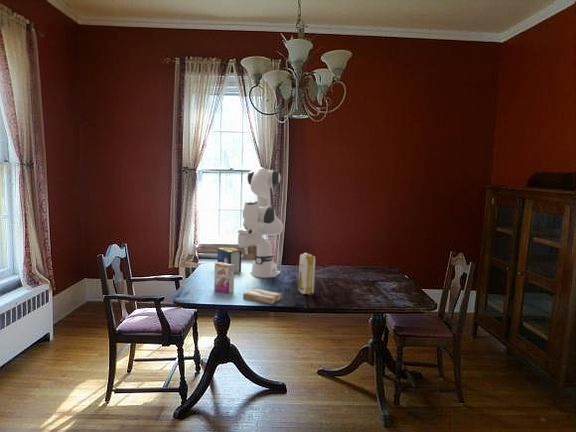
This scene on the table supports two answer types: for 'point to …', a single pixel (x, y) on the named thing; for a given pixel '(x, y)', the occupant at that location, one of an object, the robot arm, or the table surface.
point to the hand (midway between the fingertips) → (249, 253)
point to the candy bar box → (224, 277)
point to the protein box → (230, 257)
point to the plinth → (262, 296)
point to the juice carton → (306, 273)
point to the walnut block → (250, 252)
